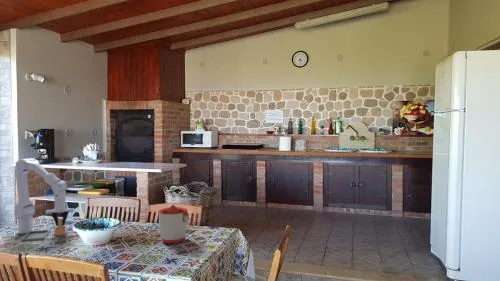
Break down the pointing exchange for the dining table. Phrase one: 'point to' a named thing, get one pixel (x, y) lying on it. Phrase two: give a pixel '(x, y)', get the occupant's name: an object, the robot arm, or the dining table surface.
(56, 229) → the open box
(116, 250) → the dining table surface
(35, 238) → the tray
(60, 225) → the dowel
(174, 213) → the citrus juicer
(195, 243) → the dining table surface
